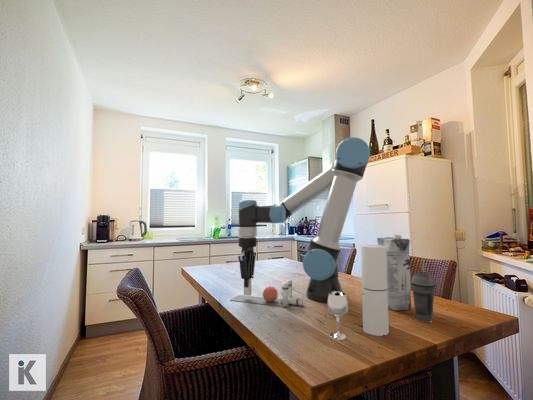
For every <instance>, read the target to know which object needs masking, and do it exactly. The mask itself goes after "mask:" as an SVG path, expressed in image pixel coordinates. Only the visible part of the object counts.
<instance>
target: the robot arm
mask: <svg viewBox="0 0 533 400" xmlns="http://www.w3.org/2000/svg"><path fill="white" fill-rule="evenodd" d="M370 157H371V150H370V147H369V145H368V143H367V142H366V141H365V140H364V139H362V138H359V137H354V136H351V137H347V138H345V139H343V140H342V141H340V142H339V144H338V145H337V146H336V149H335V158H334V160H333V162H331V163H330V165H329V167H328V168H327V169H325V170H324V171H323V172H321V173H320V174H318V175H317V176H315V177H314V178H313V179H311V180H310V181H309V182H307V183H306V184H304V185H303V186H301V187H300V188H299V189H297V190H296V191H294V192H293V193H291V194H290V195H289V196H287V197H286V198H285V199H283V200H282V201H281V202H279V203H277V204H276V203H275V204H258V202H257V200H255V199H243V200H240V201H239V202H238V212H237V213H238V230H237V231H238V236H239V238H238V247H239V248H241V251H240V252H241V254H240V255H238V257H237V258H238V262H239V269H240V270H239V271H240V278H241V279H242V280H243V295H245V296H252V279H254V278H255V276H254V275H255V267H256V265H255V264H256V257H257V252H256V251H255V250H254V248H255V247H258V245H257V244H258V243H257V239H258V238H257V235H258V233H257V232H258V231H257V229H258V227H257V224H260V223H261V224H282V223H284V222H286V221H287V220H288V219H289V218H290V217H291V216H293V214H296V212H298V211H300V210H301V209H303V208H304V207H305V206H307V205H308V204H310V203H311V202H312V201H314V200H316V199H318V197H320V196H322V195H323V194H325V193H326V192H327V191H329V193H328V196H327V199H326V202H325V206H324V209H323V213H322V216H321V219H320V222H319V226H318V228H317V233H316V236H314V237H311V239H310V242H309V245H308V248H307V251H306V253H305V254H304V256H303V259H302V267H303V271H304V272H305V273H306V275H307V276H308V277H309V281H308V284H307V288H306V297H307V298H308V299H310V300H313V301H317V302H327V301H328V295H329V292H332V291H339V292H343V289H342V287H341V286H342V285H341V283H340V281H339V280H340V279H339V256H340V253H341V250H342V249H341V248H342V247H341V246H340V244H339V242H340V239H341V235H342V232H343V230H344V229H343V228H344V225H345V222H346V218H347V216H348V213H349V210H350V205H351V202H352V199H353V197H354V194H355V190H356V187H357V183H358V182H359V181H361V180H363V178H364V174H365V171H366V169H367V168H366V167H367V165H368V163H369V160H370Z"/></svg>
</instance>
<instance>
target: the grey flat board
mask: <svg viewBox="0 0 533 400" xmlns="http://www.w3.org/2000/svg"><path fill="white" fill-rule="evenodd" d="M280 299H281V298H280ZM280 299H278V298H277V299H276V300H275V301H273V302H267V301H266V300H265V299H264V298H263V296H262V297H261V296H253V295H244V294H243V295H242V294H238V295H236V296H235V297H233V298H231V299H230V301H231V302H239V303H246V304H247V303H248V304H254V305H256V304H257V305H265V306H271V307H280V308H288V307H287V306H282V303H280ZM288 306H290V304H288Z"/></svg>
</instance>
